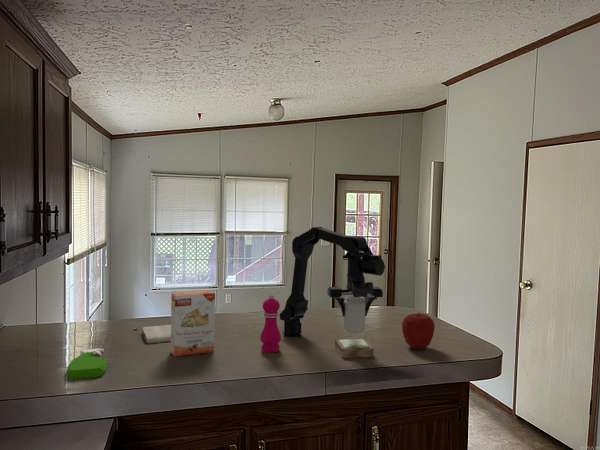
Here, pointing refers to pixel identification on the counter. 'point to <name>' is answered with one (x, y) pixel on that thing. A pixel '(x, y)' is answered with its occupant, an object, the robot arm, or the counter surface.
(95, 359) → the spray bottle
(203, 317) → the cracker box
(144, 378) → the counter surface
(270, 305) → the pepper mill
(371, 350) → the plinth
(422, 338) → the apple
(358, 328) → the can
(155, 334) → the washcloth
